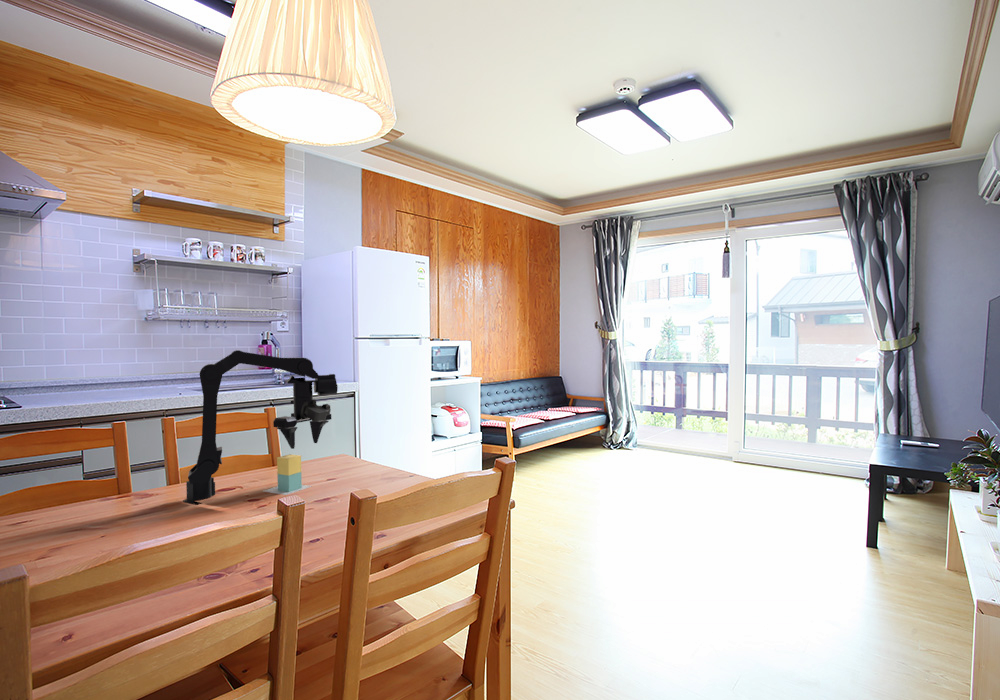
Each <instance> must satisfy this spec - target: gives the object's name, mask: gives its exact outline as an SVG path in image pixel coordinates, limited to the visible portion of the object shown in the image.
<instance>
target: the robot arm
mask: <svg viewBox="0 0 1000 700" xmlns="http://www.w3.org/2000/svg"><path fill="white" fill-rule="evenodd" d="M240 364H242V365H249V366H257V367H263V368H270V369H278V370H282V371H285V372H289V373H290V374H291V373H292V374H294V375H297V376H301V377H295V376H294V375H291V376H290V377H289V379H287V380H286V384H292V387H293V388H292V390H293V392H292V393H293V394H292V395H293V396H292V397H293V400H292V399H291V400H290V404H291V405H293V413H290V416H287V415H284V416H280V417H275V418H274V419H273V424H272V425H273V428H276V429H277V430H280V432H281V434H282V435H283V436H284V439H285V440H286V441H287V444H288V445H289V447H290V449H293V450H294V449H295V447H296V445H295V444H296V442H295V441H296V440H295V439H296V438H295V437H296V431H297V429H298V427H297V426H296V425H297V423H304V422H309V426H310V431H311V435H312V436H311V437H312V441H313V443H314V444H318V441H319V438H320V435H321V432H322V429H323V427H324V426H325V425H326V424H327V423H329V421H331V420H332V413H331V405H330V404H328V403H324V404H322V405H318V404H317V401H316V399H315V398H313V397H314V396H313V393H315V394H317V396H318V397H320V396H321V397H322V396H334V395H335V396H336V395H337V393H338V383H337V382H338V381H337V378H336V374H334V373H329V374H319V373H318V372H317V371H316V370H315V369H314V365H313V362H312V361H311V359H309V358H308V357H278V356H273V355H272V356H271V355H267V354H266V355H265V354H259V353H253V352H252V353H251V352H248V351H242V350H239V349H238V350H236V349H235V350H233V351H232V352H231V353H230V354H228V355H227V356H224V357H223V358H222V359H220V360H219V361H217V362H216V363H208V364H206V365H204V366H203V367H201V369H200V371H199V379H200V384H201V385H200V387H201V391H202V396H203V398H202V401H203V402H202V420H201V421H202V423H201V425H202V426H201V427H202V428H201V430H202V431H201V443H200V446H199V447H200V449H199V452H198V454H197V455H198V456H197V460H196V464H195V465H194V466H193V467H192V468H191V469H190V470H188V475H187V478H188V480H187V481H186V499H184V500H183V501H182V502H183V503H187V504H191V505H195V506H197V505H202V502H200V501H203V500H204V501H205V500H209V499H210V498H212V497H214V496H215V495H216V482H215V480H214V479H215V477H212V476H213V475H214V474H215V473H216V472H218V470H219V468H220V465H222V464H223V460H222V453H223V447H222V446H219V447H217V441H216V439H217V438H216V437H217V417H218V416H217V413H218V395H219V391H220V388H221V383H222V379H223V375H225V374H226V373H227V372H229V371H231V370H232V369H233V368H235V367H237V366H238V365H240ZM305 377H308V378H309V379H310V380H309V379H306V378H305ZM311 379H312V380H311Z"/></svg>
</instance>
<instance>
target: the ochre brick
mask: <svg viewBox="0 0 1000 700" xmlns="http://www.w3.org/2000/svg"><path fill="white" fill-rule="evenodd" d="M276 466H277V467H276V469H277V470H276V471H277V472H276V473H277V475H278V474H282V475H292V474H296V473H299V472H301V473H302V455H299V454H290V453H289V454H286V455H281V456H278V457H276Z"/></svg>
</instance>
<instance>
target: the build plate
mask: <svg viewBox="0 0 1000 700" xmlns="http://www.w3.org/2000/svg"><path fill="white" fill-rule="evenodd" d="M311 487H312V486H311V485H305V484H302V488H300V489H297V490H294V491H291V492H286V491H280V490H278V485H277V486H274V487H271V488H268V489H264V490H263V492H266V493H269V494H270V493H271V494H278V495H283V496H287V495H291V494H293V493H297V492H300V491H302V490H306V489H308V488H311Z"/></svg>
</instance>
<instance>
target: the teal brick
mask: <svg viewBox="0 0 1000 700" xmlns="http://www.w3.org/2000/svg"><path fill="white" fill-rule="evenodd" d="M302 485H303V482H302V471H301V472H299V473H296V474H292V475H282V474H277V486H278V490H280V491H286V492H291V491H294V490H297V489H300V488H302Z"/></svg>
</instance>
